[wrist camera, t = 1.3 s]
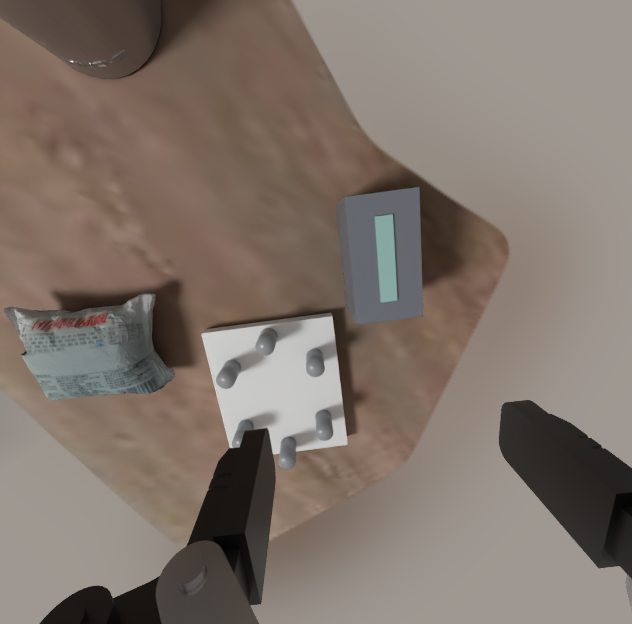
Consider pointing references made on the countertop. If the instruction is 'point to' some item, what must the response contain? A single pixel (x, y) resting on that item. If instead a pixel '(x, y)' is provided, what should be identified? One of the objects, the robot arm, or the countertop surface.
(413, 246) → the block
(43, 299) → the countertop surface
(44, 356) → the packaged food
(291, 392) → the pegged holder plate
